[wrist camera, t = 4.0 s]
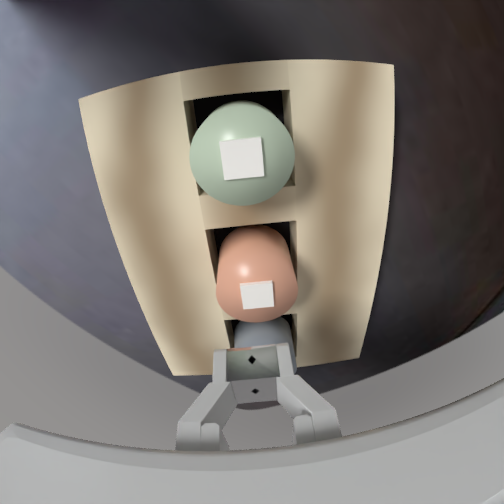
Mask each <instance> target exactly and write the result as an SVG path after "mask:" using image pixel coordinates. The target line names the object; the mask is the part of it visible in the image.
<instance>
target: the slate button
mask: <svg viewBox="0 0 504 504" xmlns="http://www.w3.org/2000/svg"><path fill="white" fill-rule="evenodd" d="M280 343H288V344H289V347H290V353H291V358H292V364H293V369H294V374H295V373H296V370H297V365H296V359H295V353H294V347H293V341H292V336H291V330H290V326H289V324H288V322H287V321H286V320H285V319H284V318H282V317H281V316H280V317H278V318H276V319H273V320H270V321H266V322H257V323H253V322H245V321H240V322H239V323H238V324H237V326H236V327H235V332H234V348H245V347H252V346H261V345H269V344H275V345H276V344H280Z"/></svg>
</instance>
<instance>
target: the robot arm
mask: <svg viewBox="0 0 504 504" xmlns="http://www.w3.org/2000/svg"><path fill="white" fill-rule="evenodd" d="M273 400H278V402H279V403H280V404H281V405H282V407H283V408H284V409H285V410H286V411H287V412H288V414H289V415H290V416H291V417H292V418H293V419H294V422H293V436H292V443H293V445H291V446H282V447H272V448H263V449H249V450H232V451H229V445H228V443H227V441H226V439H225V437H224V435H223V432H222V429H223V427H224V426H225V424H226V422H227V421H228V419H229V417H230V416H231V414H232V412H233V411H234V409H235V407H236V406H237V404H240V403H250V402H260V401H273ZM0 504H504V378H503V379H501V380H499V381H497V382H496V383H494V384H492V385H490V386H488V387H486V388H484V389H482V390H480V391H477V392H475V393H473V394H471V395H469V396H467V397H465V398H462V399H460V400H457V401H455V402H453V403H450V404H448V405H445V406H443V407H440V408H438V409H435V410H432V411H430V412H427V413H424V414H421V415H418V416H415V417H412V418H410V419H406V420H403V421H400V422H397V423H393V424H390V425H387V426H383V427H380V428H376V429H372V430H368V431H364V432H360V433H357V434H352V435H347V436H343V437H342V434H341V430H340V426H339V422H338V417H337V414H336V409H335V408H334V407H333V406H332V405H330V404H329V403H328V402H327V401H326V400H325V399H324V398H323V397H322V396H321V395H319V394H318V393H317V392H316V391H315V390H314V389H313V388H312V387H311V386H310V385H309V384H307V383H306V382H305V381H304V380H303V379H302V378H301V377H300V376H299V375H294V369H293V364H292V358H291V353H290V347H289V344H288V343H280V344H276V345H275V344H269V345H261V346H252V347H245V348H229V349H215V350H214V355H213V383H209V384H208V385H207V386H206V387H205V389H204V390H203V391H202V393H201V394H200V395H199V396H198V398H197V399H196V400H195V401H194V403H193V404H192V405H191V407H190V408H189V409H188V410H187V412H186V413H185V414H184V415H183V417H182V418H181V419H180V420H179V421H178V426H177V438H176V450H158V449H146V448H136V447H126V446H119V445H112V444H105V443H99V442H93V441H88V440H83V439H78V438H73V437H68V436H64V435H59V434H56V433H51V432H48V431H44V430H40V429H37V428H33V427H30V426H27V425H24V424H21V423H12V424H11V425H10V426H8V427H7V428H6V429H5V430H4V431H3V432H2V433H0Z"/></svg>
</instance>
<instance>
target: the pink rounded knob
mask: <svg viewBox="0 0 504 504" xmlns="http://www.w3.org/2000/svg"><path fill="white" fill-rule="evenodd" d="M297 295H298V285H297V281H296V277H295V273H294V269H293V265H292V261H291V257H290V253H289V249H288V246H287V243H286V241H285V239H284V238H283V236H282V235H281V234H280V233H279V232H277V231H276V230H274V229H273V228H271V227H268V226H265V225H258V224H254V225H245V226H242V227H239V228H237V229H235V230H233V231H232V232H231V233H229V234H228V235H227V236H226V238H225V239H224V240H223V242H222V244H221V247H220V252H219V262H218V273H217V284H216V298H217V301H218V303H219V305H220V307H221V308H222V309H223V310H224V311H225V312H226V313H227V314H228V315H230V316H231V317H233V318H235V319H238V320H241V321H245V322H253V323H257V322H266V321H270V320H273V319H276V318H278V317H280V316H281V315H283V314H284V313H286V312H287V311H288V310H289V309H290V308H291V307H292V306H293V304H294V303H295V301H296V298H297Z"/></svg>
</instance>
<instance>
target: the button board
mask: <svg viewBox="0 0 504 504" xmlns="http://www.w3.org/2000/svg"><path fill="white" fill-rule="evenodd" d="M272 90H282V102H283V115H284V126H285V128H286V129H287V131H288V132H289V134H290V136H291V138H292V141H293V145H294V151H295V161H294V167H293V170H292V173H291V175H290V178H289V179H288V181H287V183H286V184H285V185H284V186H283V188H282V189H281V190H280V191H279V192H278V193H276V194H275V195H274V196H272V197H271V198H269V199H267V200H265V201H263V202H261V203H257V204H254V205H247V206H237V205H230V204H226V203H223V202H220V201H218V200H216V199H214V198H213V197H211V196H210V195H208V194H207V193H206V192H205V191H204V190H203V189H202V188H201V187H200V186H199V184H198V183H197V181H196V180H195V178H194V176H193V173H192V170H191V166H190V159H189V154H190V146H191V143H192V140H193V137H194V135H195V133H196V131H197V124H196V117H195V110H194V103H193V99H199V98H205V97H212V96H220V95H228V94H237V93H247V92H258V91H272ZM79 105H80V110H81V116H82V121H83V126H84V130H85V135H86V139H87V144H88V148H89V152H90V156H91V160H92V164H93V168H94V172H95V176H96V180H97V183H98V187H99V190H100V194H101V197H102V201H103V204H104V207H105V210H106V214H107V217H108V220H109V223H110V226H111V229H112V232H113V235H114V238H115V241H116V244H117V247H118V249H119V252H120V255H121V258H122V260H123V263H124V266H125V268H126V271H127V274H128V276H129V279H130V281H131V284H132V286H133V289H134V291H135V294H136V296H137V299H138V301H139V303H140V306H141V308H142V310H143V313H144V315H145V317H146V320H147V322H148V324H149V326H150V328H151V331H152V333H153V335H154V337H155V339H156V341H157V344H158V346H159V348H160V350H161V352H162V354H163V356H164V358H165V360H166V362H167V364H168V366H169V368H170V370H171V372H172V374H173V375H210V374H213V355H214V350H215V349H229V348H234V333H233V328H232V323H231V320H233V319H235V318H233V317H231V316H230V315H228V314H227V313H226V312H225V311H224V310H223V309H222V308H221V307H220V305H219V303H218V301H217V298H216V284H217V273H218V262H219V257H218V251H217V246H216V240H215V235H214V229H216V228H225V227H234V226H244V225H254V224H264V223H274V222H285V221H289V223H290V253H291V261H292V265H293V269H294V273H295V277H296V281H297V285H298V295H297V298H296V301H295V303H294V304H293V306H292V307H291V308H290V309H289V310H288V311H287V312H286V313H284V314H283V315H285V314H292V330H291V336H292V341H293V347H294V353H295V359H296V365H297V367H303V366H311V365H318V364H324V363H331V362H337V361H343V360H349V359H354V358H359V356H360V353H361V349H362V345H363V341H364V337H365V333H366V329H367V325H368V321H369V317H370V312H371V308H372V303H373V299H374V294H375V289H376V284H377V279H378V274H379V268H380V262H381V257H382V250H383V244H384V237H385V230H386V223H387V215H388V207H389V198H390V188H391V176H392V163H393V145H394V65H389V64H381V63H371V62H359V61H344V60H272V61H257V62H245V63H235V64H226V65H218V66H211V67H204V68H198V69H192V70H186V71H181V72H175V73H170V74H166V75H161V76H157V77H152V78H148V79H144V80H140V81H136V82H132V83H128V84H125V85H121V86H118V87H114V88H111V89H108V90H104V91H101V92H98V93H95V94H92V95H89V96H86V97H83V98H81V99H79Z"/></svg>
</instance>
